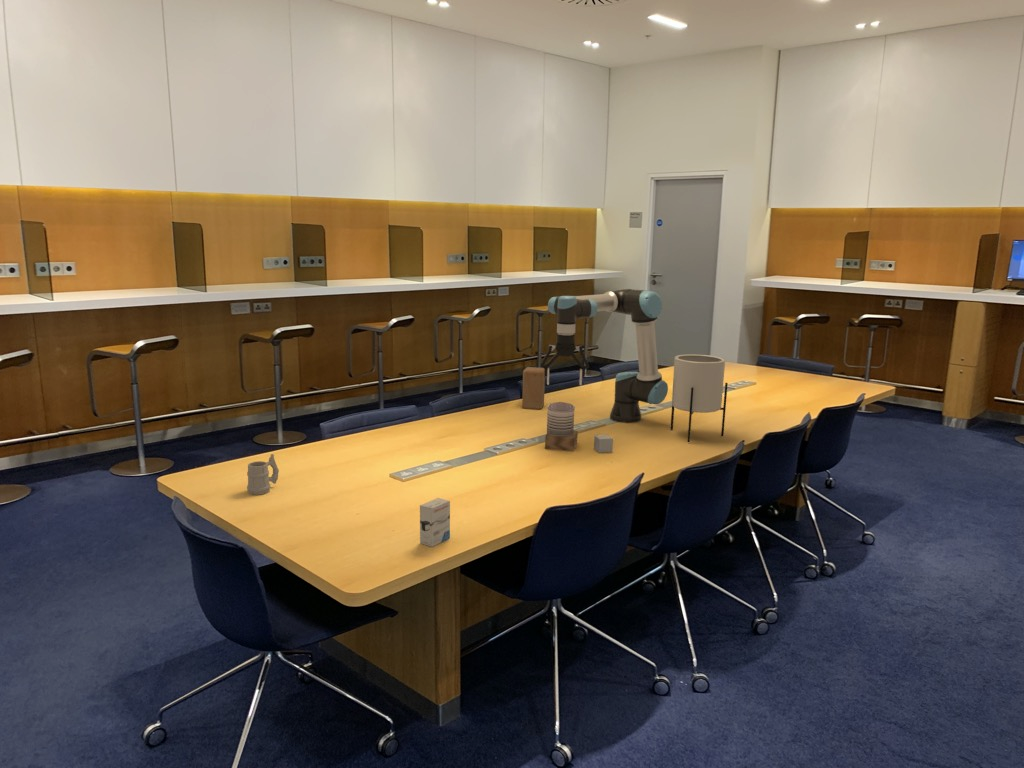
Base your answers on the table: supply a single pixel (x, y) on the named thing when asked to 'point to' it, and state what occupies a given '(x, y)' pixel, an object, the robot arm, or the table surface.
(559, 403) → the can
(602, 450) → the slate block
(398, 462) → the table surface
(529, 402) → the wooden block
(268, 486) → the mug
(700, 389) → the plant pot with stand
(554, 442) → the walnut block
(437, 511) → the ink box
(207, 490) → the table surface
